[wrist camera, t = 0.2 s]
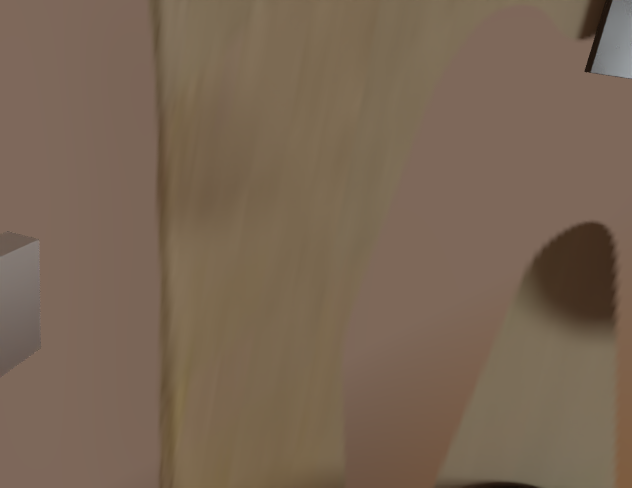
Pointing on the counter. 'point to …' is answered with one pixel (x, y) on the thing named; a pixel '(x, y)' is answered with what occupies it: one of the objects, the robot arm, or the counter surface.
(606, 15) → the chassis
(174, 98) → the counter surface
